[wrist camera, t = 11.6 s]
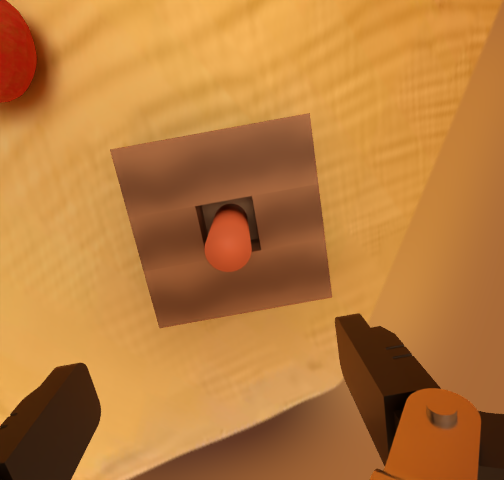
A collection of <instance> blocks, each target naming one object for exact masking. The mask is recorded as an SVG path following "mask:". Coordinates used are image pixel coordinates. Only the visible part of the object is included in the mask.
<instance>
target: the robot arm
mask: <svg viewBox="0 0 504 480" xmlns="http://www.w3.org/2000/svg"><path fill="white" fill-rule="evenodd" d="M335 327H336V335H337V343H338V351H339V359H340V365H341V369H342V373H343V376H344V379H345V382H346V384H347V386H348V388H349V390H350V392H351V395H352V396H353V399H354V401H355V403H356V405H357V407H358V410H359V412H360V414H361V416H362V418H363V421H364V423H365V425H366V427H367V429H368V431H369V434H370V436H371V438H372V440H373V442H374V444H375V447H376V449H377V451H378V453H379V455H380V457H381V459H382V462H383V464H384V466H385V468H384V470H383V471H382V470H380V469H376V470H374V472H373V473H372V475H371V478H370V480H504V414H494V413H485V412H481V411H478V410H477V409H476V408H475V406H474V405H473V404H472V403H471V402H469V401H468V400H467V399H465V398H464V397H462V396H460V395H458V394H456V393H453V392H451V391H448V390H444V389H441V388H440V387H439V386H438V385H437V383H436V382H435V381H434V380H433V379H432V377H431V376H430V375H429V374H428V373H427V372H426V370H425V369H424V368H423V367H422V366H421V364H420V363H419V362H418V361H417V360H416V358H415V357H414V356H412V354H411V353H410V351H409V350H408V349H407V348H406V347H404V344H403V343H402V342H401V341H400V340H399V338H398V337H397V336H396V335H395V334H394V333H392V332H390V331H388V330H387V329H385V328H383V327H381V326H378V327H373V328H370V327H369V325H368V324H367V323H366V321H365V320H364V318H363V317H362V316H361V315H360V314H359V313H358V314H352V315H347V316H341V317H336V318H335ZM100 416H101V406H100V402H99V399H98V396H97V393H96V390H95V388H94V385H93V382H92V379H91V376H90V374H89V371H88V368H87V366H86V365H85V364H84V363H76V364H70V365H65V366H59V367H56V368H55V369H54V370H53V371H52V372H51V373H50V375H49V376H48V377H47V378H46V379H45V381H44V382H43V383H42V384H41V385H40V387H38V388H37V389H36V390H34V391H33V392H32V393H31V394H29V395H28V396H27V397H25V398H24V399H23V400H22V401H21V402H20V403H19V405H18V406H17V407H16V408H15V409H14V410H13V412H12V413H11V416H10V417H7V419H6V420H5V421H4V422H3V423H2V425H1V426H0V480H71V478H72V476H73V474H74V472H75V470H76V468H77V466H78V464H79V462H80V460H81V458H82V456H83V454H84V452H85V450H86V448H87V446H88V444H89V442H90V440H91V438H92V436H93V434H94V432H95V430H96V428H97V426H98V424H99V421H100Z"/></svg>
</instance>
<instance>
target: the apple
mask: <svg viewBox="0 0 504 480" xmlns="http://www.w3.org/2000/svg"><path fill="white" fill-rule="evenodd" d="M36 62H37V56H36V51H35V45H34V42H33V39H32V36H31V33H30V30H29V27H28V26H27V24H26V23H25V21H24V19H23V18H22V16H21V15H20V13H19V11H17V10H16V9H15V8H14V7H13V6H12V5H11V4H10V3H8V2H7V1H6V0H0V102H10V101H12V100H14V99H16V98H18V97H20V96H22V94H23V93H24V92H25V91H26V90H27V89H28V87H29V85H30V83H31V81H32V79H33V76H34V73H35V70H36Z"/></svg>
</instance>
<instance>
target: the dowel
mask: <svg viewBox="0 0 504 480" xmlns="http://www.w3.org/2000/svg"><path fill="white" fill-rule="evenodd" d="M251 252H252V248H251V240H250V233H249V226H248V219H247V214H246V212H245V211H244V209H243V208H242V207H240V206H239V205H237V204H225V205H223V206H221V207H220V208H219V209H218V210H217V212H216V214H215V216H214V219H213V222H212V225H211V228H210V231H209V234H208V237H207V240H206V243H205V256H206V258H207V260H208V262H209V263H210V264H211V265H212V266H213V267H214V268H216V269H217V270H220V271H223V272H233V271H237V270H239V269H241V268H242V267H244V266H245V265H246V264H247V262H248V261H249V259H250V256H251Z"/></svg>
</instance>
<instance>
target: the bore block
mask: <svg viewBox="0 0 504 480" xmlns="http://www.w3.org/2000/svg"><path fill="white" fill-rule="evenodd" d="M110 151H111V155H112V159H113V162H114V166H115V169H116V173H117V177H118V180H119V184H120V187H121V191H122V195H123V198H124V202H125V205H126V209H127V213H128V216H129V220H130V223H131V227H132V231H133V234H134V238H135V242H136V245H137V249H138V252H139V256H140V260H141V263H142V267H143V270H144V274H145V278H146V281H147V285H148V288H149V292H150V296H151V299H152V303H153V307H154V310H155V314H156V317H157V321H158V325H159V328H163V327H169V326H174V325H180V324H186V323H191V322H197V321H202V320H208V319H214V318H219V317H225V316H230V315H236V314H242V313H247V312H253V311H258V310H264V309H270V308H275V307H281V306H286V305H292V304H298V303H303V302H309V301H314V300H320V299H326V298H331V297H332V292H331V284H330V276H329V268H328V259H327V251H326V243H325V235H324V227H323V219H322V210H321V202H320V194H319V186H318V178H317V170H316V161H315V153H314V145H313V137H312V129H311V121H310V113H309V114H303V115H298V116H292V117H287V118H281V119H276V120H270V121H265V122H259V123H254V124H248V125H243V126H237V127H232V128H226V129H221V130H216V131H210V132H205V133H199V134H194V135H188V136H183V137H177V138H172V139H166V140H161V141H155V142H150V143H144V144H139V145H133V146H128V147H122V148H117V149H111V150H110ZM225 204H237V205H239V206H240V207H242V208H243V209H244V211H245V212H246V214H247V219H248V226H249V233H250V240H251V248H252V252H251V256H250V259H249V261H248V262H247V264H246V265H245V266H244V267H242V268H241V269H239V270H237V271H233V272H223V271H220V270H217V269H216V268H214V267H213V266H212V265H211V264H210V263H209V262H208V260H207V258H206V256H205V243H206V240H207V237H208V234H209V231H210V228H211V225H212V222H213V219H214V216H215V214H216V212H217V210H218V209H219V208H220V207H221V206H223V205H225Z"/></svg>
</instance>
